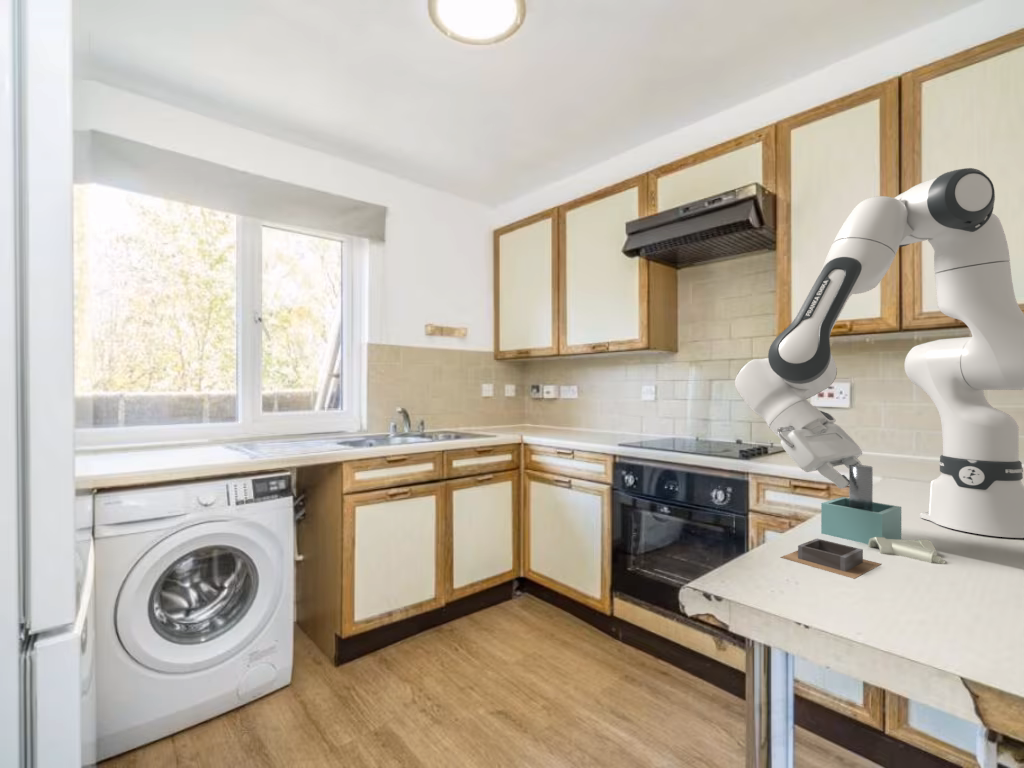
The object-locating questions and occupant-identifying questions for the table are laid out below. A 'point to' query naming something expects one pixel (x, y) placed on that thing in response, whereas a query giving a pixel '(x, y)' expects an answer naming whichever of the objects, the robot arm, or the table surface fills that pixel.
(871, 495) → the strut
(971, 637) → the table surface
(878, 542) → the pipe fitting
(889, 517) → the bin
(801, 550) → the mount plate
